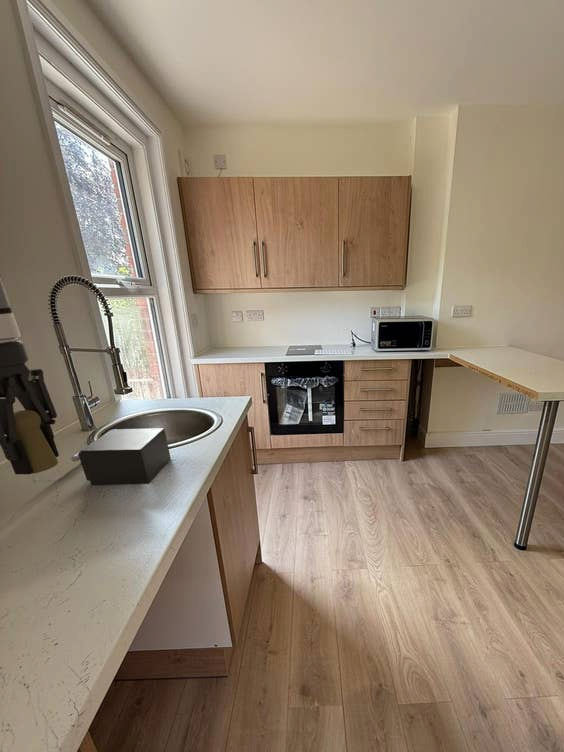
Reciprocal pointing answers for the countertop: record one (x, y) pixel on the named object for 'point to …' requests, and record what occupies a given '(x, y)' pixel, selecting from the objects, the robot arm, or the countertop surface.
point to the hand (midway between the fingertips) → (38, 464)
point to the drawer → (79, 457)
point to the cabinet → (126, 456)
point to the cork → (34, 441)
